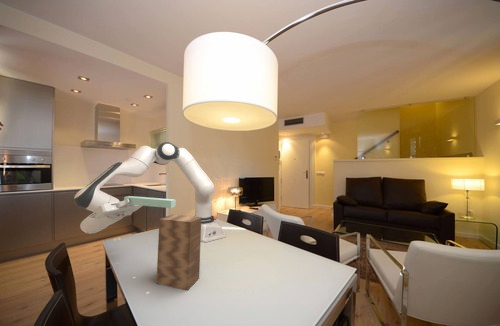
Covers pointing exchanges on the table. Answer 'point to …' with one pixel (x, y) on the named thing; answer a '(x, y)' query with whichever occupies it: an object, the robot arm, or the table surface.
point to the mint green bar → (152, 201)
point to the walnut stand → (179, 251)
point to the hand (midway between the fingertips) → (133, 199)
